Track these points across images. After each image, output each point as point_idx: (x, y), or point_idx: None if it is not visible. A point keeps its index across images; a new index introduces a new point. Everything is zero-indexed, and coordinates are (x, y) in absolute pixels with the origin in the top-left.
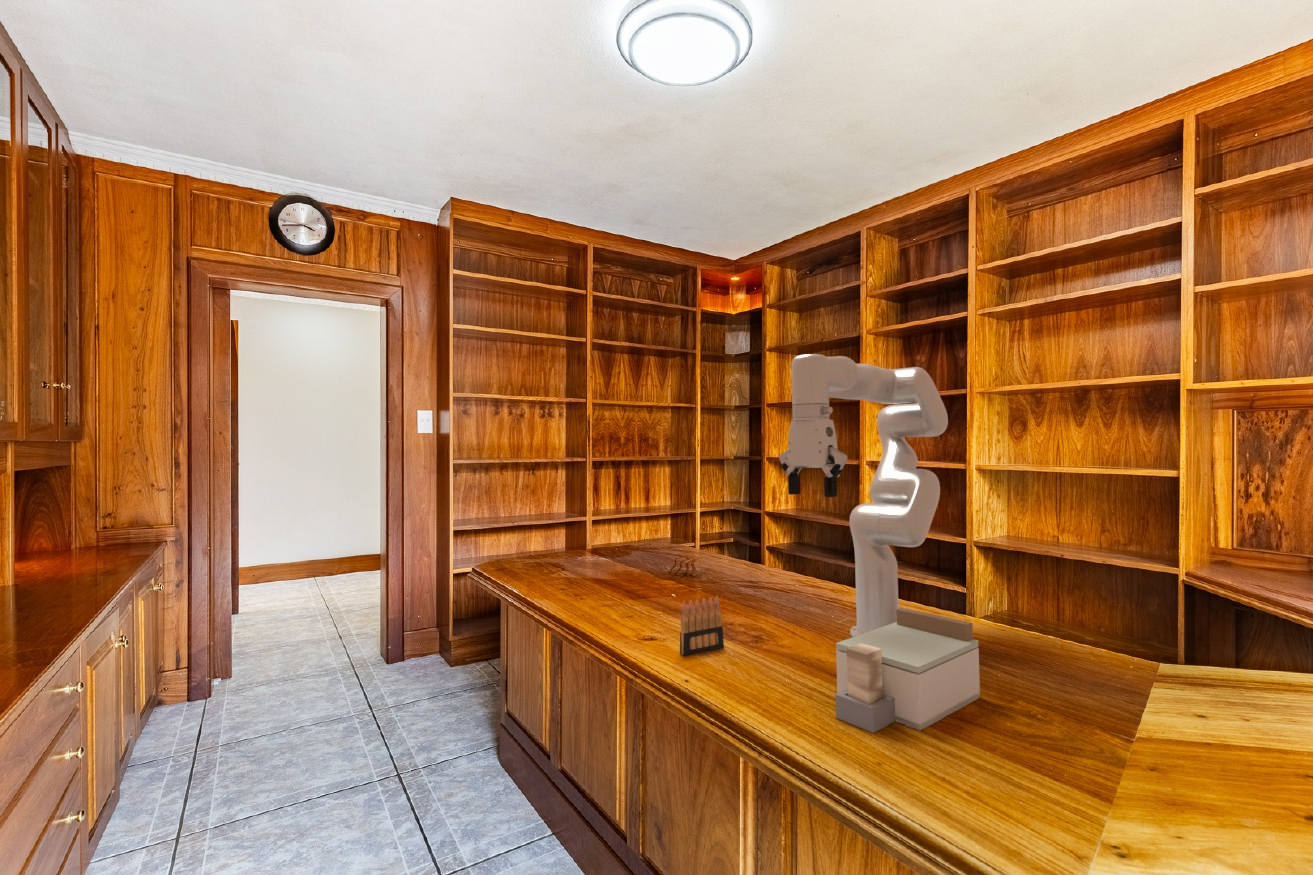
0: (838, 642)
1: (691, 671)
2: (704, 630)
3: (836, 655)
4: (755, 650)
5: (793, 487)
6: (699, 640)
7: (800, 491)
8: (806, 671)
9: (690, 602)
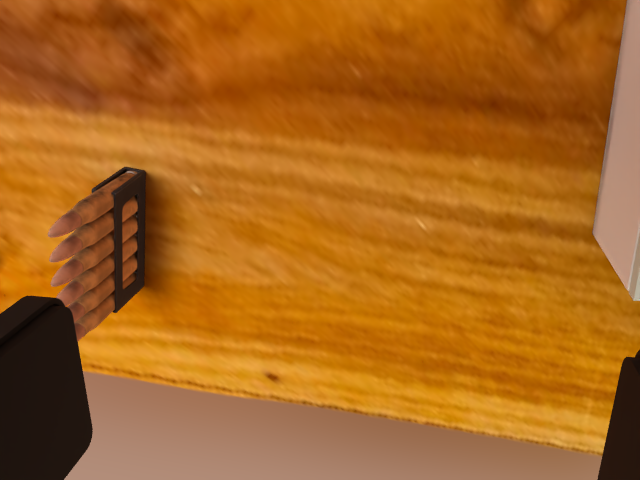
0: (636, 290)
1: (234, 336)
2: (116, 252)
3: (623, 283)
4: (210, 118)
5: (44, 459)
6: (127, 256)
7: (54, 310)
8: (419, 140)
9: None
